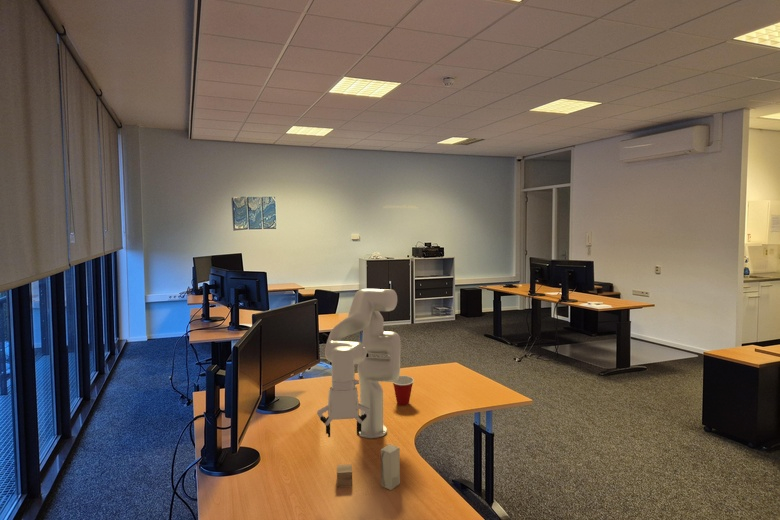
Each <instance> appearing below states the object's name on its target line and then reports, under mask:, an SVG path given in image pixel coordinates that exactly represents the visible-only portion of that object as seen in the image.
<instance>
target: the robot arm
mask: <svg viewBox="0 0 780 520" xmlns="http://www.w3.org/2000/svg"><path fill="white" fill-rule="evenodd" d="M397 304H398V295H397V292H396V291H395V289H386V288H384V289H383V288H381V289H380V288H362V289H359V290H357V291H356V292H355V294H354V296H353V299H352V302H351V305H350V307H349V308H350V309H349V312H348V315H347V317H345V318H344V319H342V321H341V320H340V322H339V323H338V324H336V325H335V326H334V327H333V328H332V329H331V330H330V333H329V335H328V338H327V340H326V343H325V347H324V357H325V359H326V360H327V361H328V362H330V363H331V386H330V387H329V389H328V398H327V400H328V401H327V405H326V406H324V407H322V408H320V409H318V410H317V412H316V414H317V416H318V418H319V420H320V421H321V422H322V423H323V424H324V425H325V435H326V434H327V437H328V438H330V437H331V422H332V421H333V420H334V421H336V420H352V419H355V420H356V434H357V435H356V436H359V437H361V438H364V439H378V438H382V437H384V436H385V435H386V434H387V433H388V427H386V425H384V391H383V390H384V389H383V388H382V385H381V383H382V382H384V383H393V382H396V381H397V380H398V379H399V376H401V351H402V347H401V346H402V345H401V344H402V343H401V342H402V341H401V337H400V334H399V333H397V332H396V331H391V330H390V331H388V330H386V331H385V330H384V317H383V315H382V314H381V312H391V311H394V310H395V309H396V307H397ZM360 332H362V341H350V340H343V339H344V338H346V337H348V336H351V335H354V334H357V333H360ZM368 354H369V355H370V354H372V355H386V356H388V357H378V356H377V357H375V356H374V357H373V356H372V357H371V356H367V355H368ZM356 365H357V375H358V379H356V378H355V374H356V372H355V366H356ZM380 382H381V383H380ZM357 385H359V393H358V387H357ZM359 399H360V400H359ZM326 412H327V417H325V416H324V414H325V413H326Z"/></svg>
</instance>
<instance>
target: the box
mask: <svg viewBox="0 0 780 520" xmlns="http://www.w3.org/2000/svg"><path fill="white" fill-rule="evenodd" d="M400 452H401V451H400V447H399V446H397V445H396V446H395V445H394V444H391V443H389V444H388V445H385V446H384V447H382V448H381V449H380V482H381V483H380V486H381V487H382V488H385V489H387V490H390V491H392V490H394V488H396V487H398V486H399V485H400V483H401V475H400V474H401V472H400V471H401V469H400V468H401V466H400V465H401V463H400V462H401V461H400V460H401V459H400V454H401V453H400Z"/></svg>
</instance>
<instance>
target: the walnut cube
mask: <svg viewBox="0 0 780 520" xmlns="http://www.w3.org/2000/svg"><path fill="white" fill-rule="evenodd" d="M336 487H337V488H346V487H353V466H352V463H351V464H339V465H338V464H337V465H336Z"/></svg>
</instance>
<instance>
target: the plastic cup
mask: <svg viewBox="0 0 780 520" xmlns="http://www.w3.org/2000/svg"><path fill="white" fill-rule="evenodd" d="M414 382H415V378H413V377H412V376H410V375H400V376H399V379H398V380H397V381H396V382H392V385H393V388H394V395H395V399H396V404H397V405H398V404H399V406H408V405H409V404H410V400H411V399H410V398H411V396H412V394H411V393H412V389H413V384H414ZM407 404H408V405H407Z"/></svg>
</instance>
